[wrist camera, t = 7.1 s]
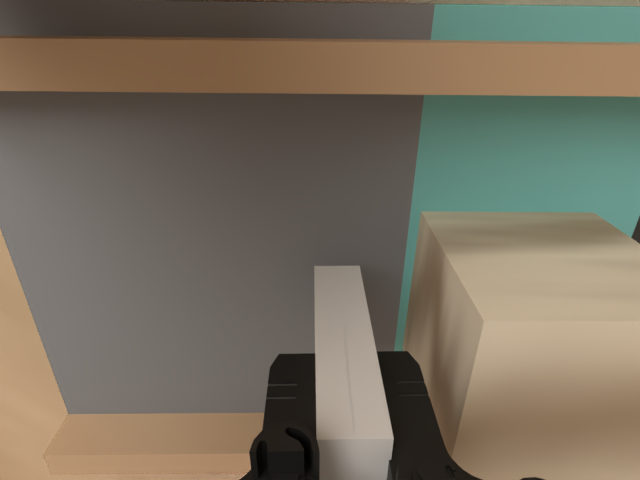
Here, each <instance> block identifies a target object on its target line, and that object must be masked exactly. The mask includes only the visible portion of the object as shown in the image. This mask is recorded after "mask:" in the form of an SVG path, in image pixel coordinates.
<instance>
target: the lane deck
mask: <svg viewBox="0 0 640 480" xmlns="http://www.w3.org/2000/svg"><path fill="white" fill-rule="evenodd" d="M421 211H444V212H588V213H595V214H597V215H598V216H600V217H601V218H603V219H604V220H606V221H607V222H609V223H610V224H611V225H613V226H614V227H616V228H617V229H619V230H620V231H622V232H623V233H625V234H626V235H628V236H629V237H631V238H632V239H634V240H635V241H637V242H638V243H639V244H640V7H635V6H560V5H486V4H411V3H337V2H262V1H188V0H0V229H1V231H2V234H3V237H4V240H5V242H6V245H7V248H8V250H9V253H10V256H11V259H12V261H13V264H14V267H15V269H16V272H17V275H18V278H19V280H20V283H21V286H22V289H23V291H24V294H25V297H26V299H27V302H28V305H29V308H30V310H31V313H32V316H33V319H34V321H35V324H36V327H37V329H38V332H39V335H40V338H41V340H42V343H43V346H44V349H45V351H46V354H47V357H48V359H49V362H50V365H51V368H52V370H53V373H54V376H55V379H56V381H57V384H58V387H59V389H60V392H61V395H62V398H63V400H64V403H65V406H66V408H67V411H68V416H67V418H66V419H65V421H64V422H63V424H62V426H61V427H60V429H59V430H58V432H57V434H56V435H55V437H54V439H53V440H52V442H51V443H50V445H49V447H48V448H47V450H46V452H45V453H44V455H43V456H44V459H45V461H46V463H47V466H48V468H49V470H50V473H51V475H84V474H182V473H248V472H249V471H250V470H251V464H250V455H249V451H250V448H251V445H252V443H253V440H254V439H255V438H256V437H257V435H258V434H259V433H260V432H261V431H262V428H263V420H264V412H265V403H266V395H267V387H268V378H269V370H270V366H271V365H272V363H273V362H274V360H275V359H276V357H277V356H278V354H300V353H315V299H314V266H360V270H361V275H362V280H363V285H364V291H365V296H366V301H367V306H368V311H369V316H370V321H371V326H372V331H373V336H374V341H375V346H376V351H403V341H404V333H405V326H406V318H407V311H408V303H409V296H410V288H411V281H412V273H413V266H414V258H415V251H416V244H417V236H418V229H419V221H420V214H421Z"/></svg>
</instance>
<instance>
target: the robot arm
mask: <svg viewBox="0 0 640 480" xmlns="http://www.w3.org/2000/svg"><path fill="white" fill-rule="evenodd" d="M314 299H315V353H300V354H278V356H277V357H276V359H275V360H274V362H273V363H272V365H271V366H270V370H269V378H268V387H267V395H266V403H265V412H264V420H263V428H262V431H261V432H260V433H259V434H258V435H257V437H256V438H255V439H254V440H253V443H252V445H251V448H250V451H249V455H250V464H251V470H250V471H249V472H248V473H247V474H246V475H245V476H244V477H242V478H241V479H240V480H482V479H480V478H477V477H475V476H472V475H471V474H469V473H468V472H466V471H464V470H463V469H462V468H461V467H460V466H458V464H457V463H456V462H455V461H454V460H453V459H452V458H451V456H450V455H449V454H448V451H447V449H446V447H445V444H444V441H443V438H442V435H441V432H440V429H439V425H438V422H437V419H436V416H435V413H434V409H433V406H432V403H431V400H430V397H429V396H428V390H427V387H426V384H425V383H424V378H423V375H422V371H421V368H420V365H419V364H418V362H417V361H416V360H415V359H414V358H413V357H412V356H411V354H410V353H409V352H408V351H376V346H375V341H374V336H373V331H372V326H371V321H370V316H369V311H368V306H367V301H366V296H365V291H364V285H363V280H362V275H361V270H360V266H314ZM520 480H545V479H541V478H538V477H527V478H522V479H520Z"/></svg>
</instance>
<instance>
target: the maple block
mask: <svg viewBox="0 0 640 480" xmlns="http://www.w3.org/2000/svg"><path fill="white" fill-rule="evenodd" d="M403 351H408V352H409V353H410V354H411V356H412V357H413V358H414V359H415V360H416V361H417V362H418V364H419V365H420V368H421V371H422V375H423V378H424V383H425V384H426V387H427V390H428V396H429V397H430V400H431V403H432V406H433V409H434V413H435V416H436V419H437V422H438V425H439V429H440V432H441V435H442V438H443V441H444V444H445V447H446V449H447V451H448V454H449V455H450V456H451V458H452V459H453V460H454V461H455V462H456V463H457V464H458V466H460V467H461V468H462V469H463V470H464V471H466V472H468V473H469V474H471V475H472V476H475V477H477V478H480V479H482V480H520V479H522V478H527V477H538V478H541V479H545V480H640V244H639V243H638V242H637V241H635V240H634V239H632V238H631V237H629V236H628V235H626V234H625V233H623V232H622V231H620V230H619V229H617V228H616V227H614V226H613V225H611V224H610V223H609V222H607V221H606V220H604V219H603V218H601V217H600V216H598V215H597V214H595V213H588V212H444V211H421V214H420V221H419V229H418V236H417V244H416V251H415V258H414V266H413V273H412V281H411V288H410V296H409V303H408V311H407V318H406V326H405V333H404V341H403Z"/></svg>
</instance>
